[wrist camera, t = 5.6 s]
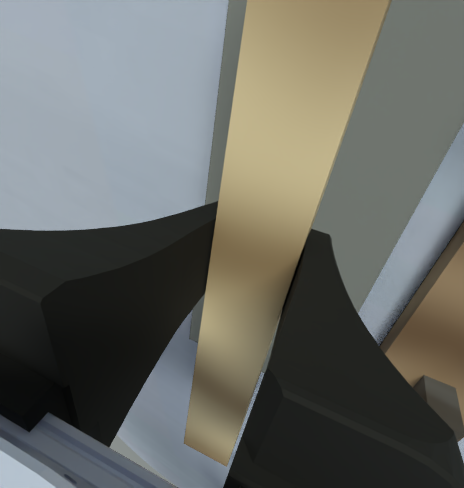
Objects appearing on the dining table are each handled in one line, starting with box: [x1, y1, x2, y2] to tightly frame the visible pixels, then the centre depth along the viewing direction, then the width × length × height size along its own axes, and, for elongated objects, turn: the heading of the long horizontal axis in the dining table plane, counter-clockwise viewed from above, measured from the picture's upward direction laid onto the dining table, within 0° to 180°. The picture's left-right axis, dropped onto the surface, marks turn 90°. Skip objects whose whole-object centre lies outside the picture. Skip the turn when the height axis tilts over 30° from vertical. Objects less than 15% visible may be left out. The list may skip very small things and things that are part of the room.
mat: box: [189, 0, 464, 373], centre depth 15 cm, size 30×10×1 cm, turn 171°
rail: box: [184, 0, 392, 467], centre depth 10 cm, size 24×2×2 cm, turn 171°
